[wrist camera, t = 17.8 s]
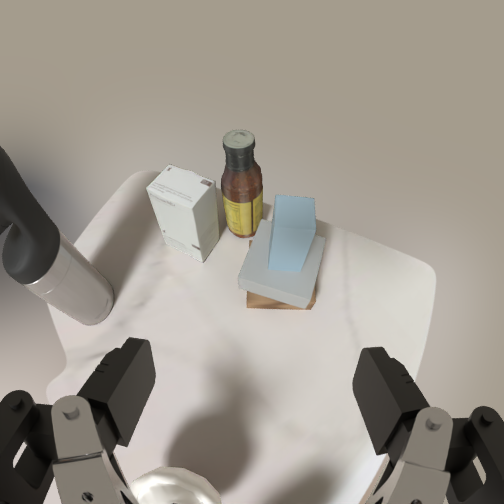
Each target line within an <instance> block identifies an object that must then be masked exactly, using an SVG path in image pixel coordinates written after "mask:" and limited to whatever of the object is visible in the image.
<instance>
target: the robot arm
mask: <svg viewBox="0 0 504 504" xmlns="http://www.w3.org/2000/svg"><path fill="white" fill-rule="evenodd" d="M12 223H13V225H12V227H11V229H10V231H9V233H8V235H7V238H6V240H5V243H4V248H3V253H2V259H3V265H4V268H5V270H6V272H7V273H8V274H9V275H10V276H11V277H12V278H13V279H15V280H16V281H17V282H19V283H20V284H21V285H23V286H24V287H25V288H27V289H28V290H30V291H31V292H33V293H34V294H36V295H37V296H39V297H40V298H42V299H43V300H45V301H46V302H48V303H49V304H51V305H52V306H54V307H55V308H57V309H59V310H60V311H62V312H63V313H65V314H67V315H68V316H70V317H72V318H73V319H75V320H77V321H79V322H80V323H82V324H84V325H95V324H98V323H100V322H101V321H103V320H104V319H105V318H106V317H107V315H108V314H109V312H110V311H111V308H112V305H113V300H114V293H113V289H112V287H111V285H110V283H109V282H108V281H107V280H106V279H105V278H104V277H103V276H102V275H101V274H100V273H99V272H98V271H97V270H96V269H95V268H94V267H93V266H92V265H91V264H90V263H89V262H88V261H87V260H86V258H85V257H84V256H83V255H82V254H81V253H80V252H79V251H78V250H77V249H76V248H75V247H74V246H73V244H72V243H71V242H70V241H69V240H68V239H67V238H66V237H65V236H64V235H63V233H62V232H61V231H60V230H59V229H58V228H57V226H56V225H55V224H54V223H53V222H52V220H51V219H50V218H49V216H48V215H47V214H46V212H45V211H44V210H43V208H42V207H41V206H40V204H39V203H38V202H37V200H36V199H35V198H34V196H33V195H32V193H31V192H30V190H29V189H28V187H27V186H26V184H25V183H24V181H23V179H22V178H21V176H20V174H19V173H18V171H17V169H16V167H15V166H14V164H13V163H12V161H11V159H10V158H9V156H8V155H7V154H6V152H5V151H4V149H2V148H1V146H0V234H1V233H2V232H3V231H4V230H5V229H6V228H7V227H8V226H9V225H11V224H12ZM155 378H156V373H155V367H154V362H153V356H152V351H151V346H150V342H149V341H148V340H145V339H138V338H132V337H129V338H128V339H127V340H126V342H125V343H124V344H123V346H122V347H121V348H115V349H114V350H112V351H111V352H109V353H107V354H106V355H105V357H104V358H103V359H102V361H101V362H100V364H99V365H98V366H97V367H96V369H95V371H94V372H93V373H92V374H91V376H90V377H89V378H88V380H87V381H86V383H85V384H84V385H83V387H82V388H81V389H80V391H79V392H78V394H77V395H76V396H75V395H70V396H65V397H62V398H60V399H59V400H57V401H56V402H55V403H54V405H45V404H36V403H35V402H34V400H33V398H32V397H31V395H30V394H29V393H28V392H25V391H23V390H16V391H12V392H10V393H9V394H7V395H6V396H5V397H4V398H3V399H2V401H1V402H0V504H43V502H44V500H45V497H46V495H47V492H48V490H49V488H50V485H51V483H52V481H53V478H54V476H55V480H56V484H57V488H58V492H59V495H60V499H61V503H62V504H139V503H138V501H137V500H136V498H135V497H134V495H133V493H132V491H131V489H130V487H129V485H128V483H127V481H126V479H125V477H124V474H123V472H122V470H121V467H120V465H119V463H118V460H117V458H116V455H115V453H114V449H115V446H116V444H118V445H121V446H125V447H128V444H129V442H130V440H131V437H132V435H133V432H134V430H135V428H136V425H137V423H138V421H139V418H140V416H141V414H142V412H143V409H144V407H145V405H146V402H147V400H148V398H149V396H150V393H151V391H152V389H153V387H154V384H155ZM353 393H354V396H355V398H356V401H357V403H358V406H359V409H360V411H361V414H362V417H363V419H364V422H365V425H366V427H367V430H368V433H369V436H370V438H371V441H372V444H373V447H374V449H375V452H376V455H381V454H385V453H388V455H389V459H388V461H387V462H386V464H385V467H384V469H383V471H382V473H381V475H380V477H379V479H378V481H377V483H376V485H375V487H374V489H373V490H372V492H371V494H370V496H369V498H368V500H367V501H366V503H365V504H443V502H444V498H445V495H446V497H447V500H448V503H449V504H504V422H503V420H502V418H501V417H500V416H499V414H498V413H497V412H496V411H495V410H494V409H492V408H490V407H486V406H480V407H478V408H476V409H474V411H473V412H472V414H471V415H470V417H469V418H451V417H450V415H449V414H448V413H447V412H446V411H444V410H442V409H440V408H437V407H430V406H429V404H428V402H427V401H426V399H425V398H424V396H423V394H422V393H421V391H420V390H419V388H418V386H417V385H416V384H415V382H414V380H413V379H412V377H411V376H410V375H409V373H408V371H407V370H406V368H405V367H404V365H403V364H401V363H400V362H399V361H397V360H396V359H395V358H390V357H389V355H388V354H387V352H386V351H385V349H384V348H383V347H371V348H363V349H362V351H361V354H360V358H359V361H358V364H357V368H356V371H355V374H354V378H353ZM23 442H25V444H26V445H27V446H26V448H25V450H24V451H23V453H22V455H21V457H20V459H19V460H18V462H17V464H16V466H15V468H13V459H14V457H15V455H16V454H17V452H18V450H19V449H20V447H21V445H22V443H23ZM477 456H478V458H479V460H480V462H481V464H482V466H483V469H484V471H485V473H486V481H485V483H484V485H483V483H482V481H481V478H480V476H479V474H478V472H477V470H476V468H475V466H474V463H473V460H474V459H475V458H476V457H477ZM172 504H175V503H172Z"/></svg>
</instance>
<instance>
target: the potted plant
mask: <svg viewBox="0 0 504 504" xmlns="http://www.w3.org/2000/svg"><path fill="white" fill-rule="evenodd" d="M130 489H131V491H132V493H133V495H134V497H135V498H136V500H137V501H138V503H139V504H172V503H175V504H222V503H221V498H220V494H219V493H218V491H217V490H216V489H215V488H214V487H213V486H212V485H211V484H210V483H209V482H208V481H207V479H206V478H204V477H202V476H200V475H198V474H195V473H193V472H191V471H189V470H187V469H185V468H177V467H159V468H157V469H155V470H152V471H150V472H148V473H146V474H144V475H142V476H141V477H139V478H137V479H136V480H134V481H133V482H132V484H131V486H130Z"/></svg>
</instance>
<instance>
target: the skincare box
mask: <svg viewBox="0 0 504 504" xmlns="http://www.w3.org/2000/svg"><path fill="white" fill-rule="evenodd" d="M146 189H147V192H148V195H149V198H150V200H151V203H152V206H153V209H154V212H155V215H156V218H157V221H158V223H159V226H160V229H161V231H162V234H163V237H164V239H165V242H166V244H167V245H168V246H171V247H173V248H175V249H177V250H180V251H182V252H183V253H185V254H187V255H189V256H191V257H193V258H195V259H196V260H198V261H200V262H201V263H203V262H204V261H205V259H206V258H207V256H208V255H209V253H210V252H211V251H212V249H213V248H214V246H215V245H216V243H217V242H218V240H219V239H220V237H219V226H218V213H217V200H216V185H215V181H214V180H211V179H208V178H205V177H203V176H200V175H197V174H196V173H195V172H193V171H190V170H184V169H181V168H179V167H176V166H173V165H172V164H169V165H168V166H167V167H166V168H165V169H164V170H163V171H162V172H161V173H160V174H159V175H158V176H157V177H156V178H155V179H154V181H152V182H151V183H150V184H149V186H148V187H147V188H146Z"/></svg>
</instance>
